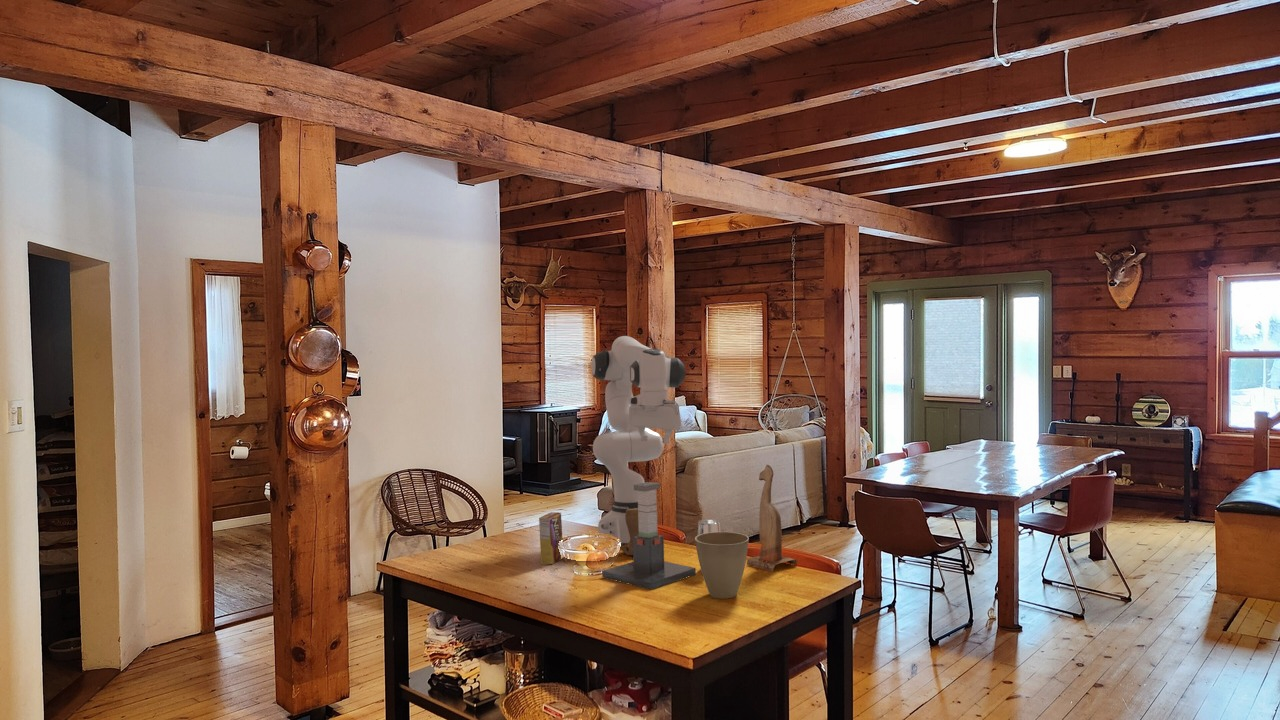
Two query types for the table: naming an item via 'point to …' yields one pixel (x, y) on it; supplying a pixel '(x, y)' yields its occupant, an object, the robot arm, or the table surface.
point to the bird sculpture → (769, 529)
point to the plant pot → (722, 561)
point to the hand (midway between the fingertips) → (654, 442)
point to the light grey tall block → (647, 509)
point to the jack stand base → (648, 566)
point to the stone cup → (631, 529)
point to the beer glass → (708, 526)
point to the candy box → (550, 537)
